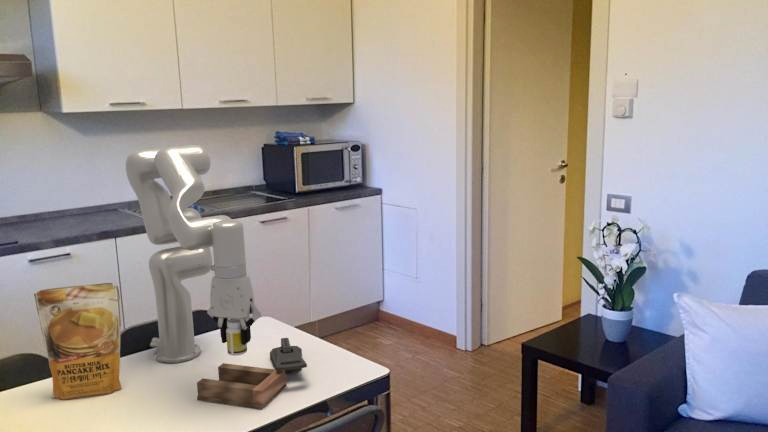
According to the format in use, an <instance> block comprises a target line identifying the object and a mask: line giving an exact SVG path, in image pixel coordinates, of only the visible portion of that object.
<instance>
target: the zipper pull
mask: <svg viewBox="0 0 768 432" xmlns="http://www.w3.org/2000/svg"><path fill="white" fill-rule="evenodd" d="M302 351H303V350H302V347H299V346H298V345H291V343H290V339H289V337H282V338H280V346H279V347H275V348H274V347H273V348H272V349H271V350H270V351H269V359H270V362H271V364H272V366H273V369H275V370H277V371H282V370H284V371H285V375H290V374H296V373H299V372H300V371H302V369H305V368H307V367H308V364H307V362H306V360H304V358H303V352H302Z"/></svg>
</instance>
